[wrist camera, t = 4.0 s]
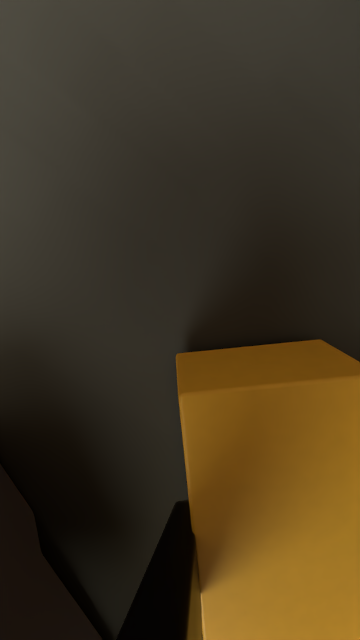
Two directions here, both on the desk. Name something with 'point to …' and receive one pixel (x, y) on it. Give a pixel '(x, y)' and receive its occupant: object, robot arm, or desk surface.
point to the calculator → (32, 580)
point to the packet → (274, 489)
